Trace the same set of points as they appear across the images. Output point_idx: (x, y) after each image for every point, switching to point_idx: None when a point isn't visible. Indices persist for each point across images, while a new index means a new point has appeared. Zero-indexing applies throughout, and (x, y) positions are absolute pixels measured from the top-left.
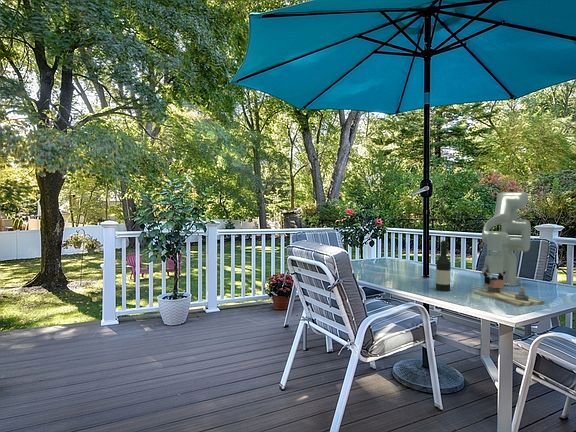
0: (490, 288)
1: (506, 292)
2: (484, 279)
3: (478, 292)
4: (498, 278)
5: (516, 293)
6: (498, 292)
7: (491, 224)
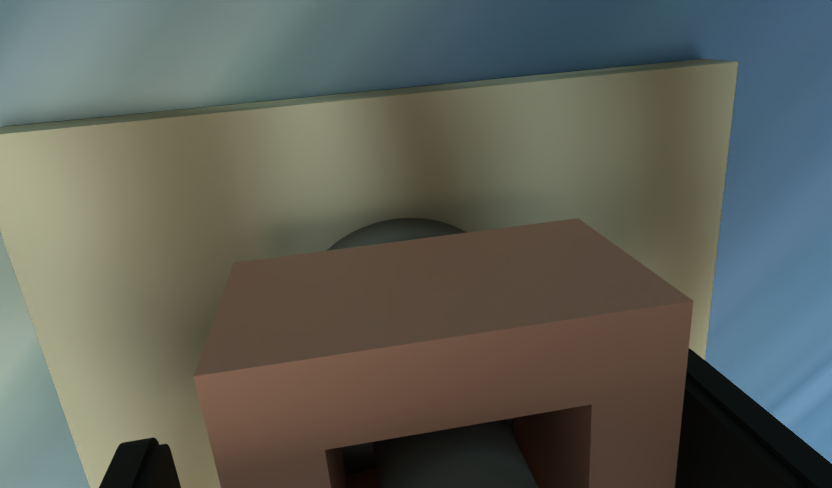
0: None
1: None
2: (198, 371)
3: (33, 297)
4: (724, 454)
5: None
6: None
7: None
